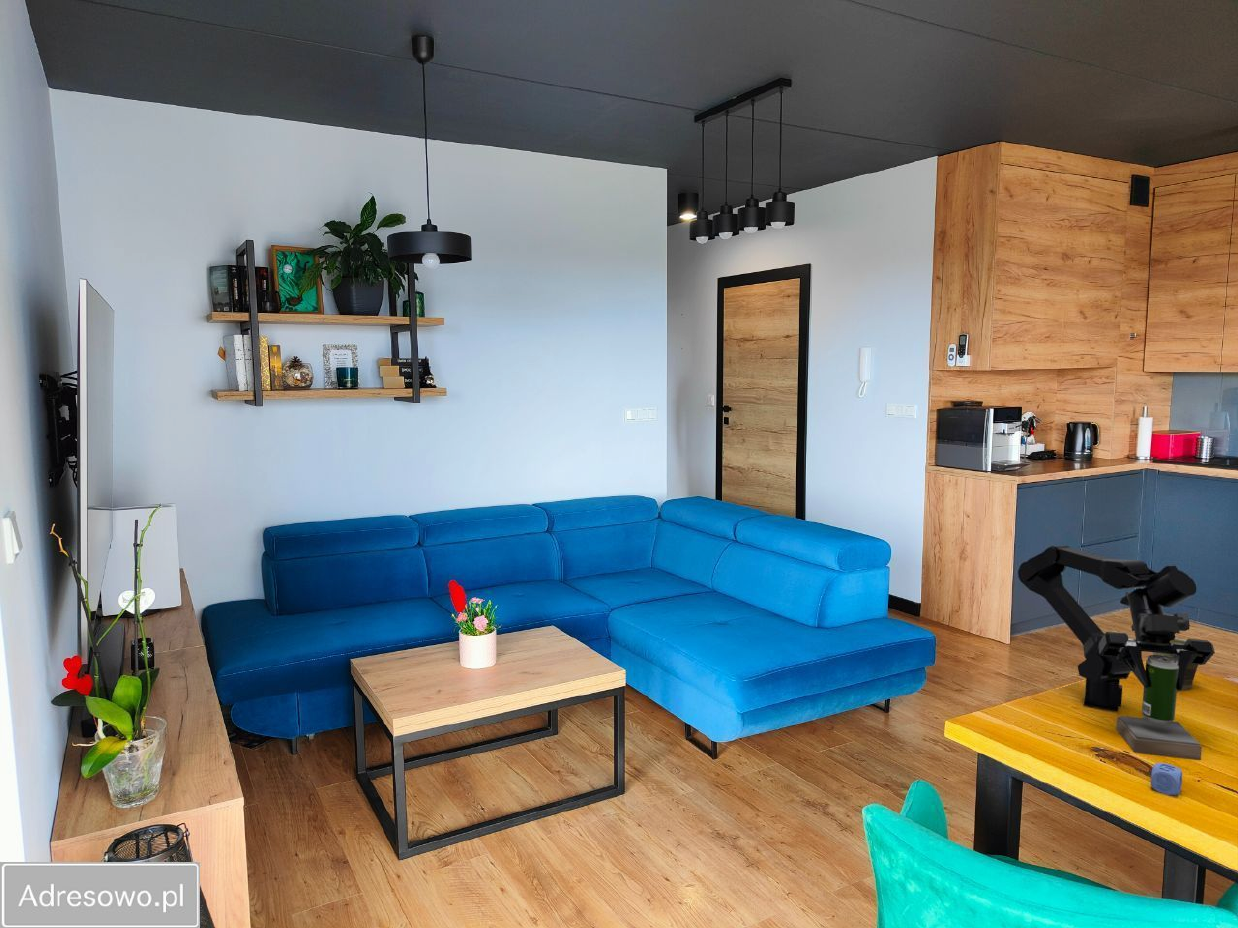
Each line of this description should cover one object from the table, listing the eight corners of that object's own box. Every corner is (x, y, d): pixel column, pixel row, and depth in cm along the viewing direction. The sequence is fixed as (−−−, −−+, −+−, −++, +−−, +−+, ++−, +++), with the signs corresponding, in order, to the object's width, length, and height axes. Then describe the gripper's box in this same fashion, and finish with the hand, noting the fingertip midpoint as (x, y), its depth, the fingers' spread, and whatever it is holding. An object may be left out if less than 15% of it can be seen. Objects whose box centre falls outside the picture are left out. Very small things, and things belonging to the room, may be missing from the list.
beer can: (1158, 725, 156) (1163, 664, 155) (1134, 714, 162) (1139, 655, 160) (1181, 723, 158) (1186, 663, 156) (1157, 711, 163) (1162, 653, 161)
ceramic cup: (1147, 674, 199) (1150, 634, 198) (1197, 682, 194) (1200, 641, 193) (1150, 691, 187) (1153, 649, 186) (1203, 700, 182) (1207, 657, 181)
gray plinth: (1116, 729, 167) (1117, 714, 166) (1177, 735, 164) (1179, 721, 163) (1134, 752, 156) (1135, 737, 156) (1200, 759, 153) (1202, 744, 153)
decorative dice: (1181, 789, 142) (1183, 767, 141) (1177, 798, 139) (1179, 775, 138) (1154, 782, 144) (1155, 760, 144) (1149, 790, 141) (1151, 768, 141)
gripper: (1107, 592, 163) (1120, 664, 154) (1215, 600, 158) (1235, 675, 149) (1092, 619, 172) (1104, 689, 162) (1194, 627, 167) (1213, 700, 157)
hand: (1163, 688), depth 157 cm, fingers closed on beer can, 5 cm apart
